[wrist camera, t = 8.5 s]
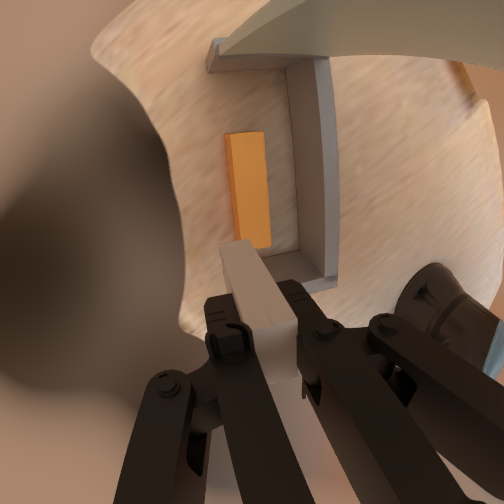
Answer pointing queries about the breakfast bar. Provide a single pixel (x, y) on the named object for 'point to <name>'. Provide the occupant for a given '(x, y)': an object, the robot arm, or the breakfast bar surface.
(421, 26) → the cover
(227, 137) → the orange block
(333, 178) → the grey u-shaped bracket
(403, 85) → the breakfast bar surface
